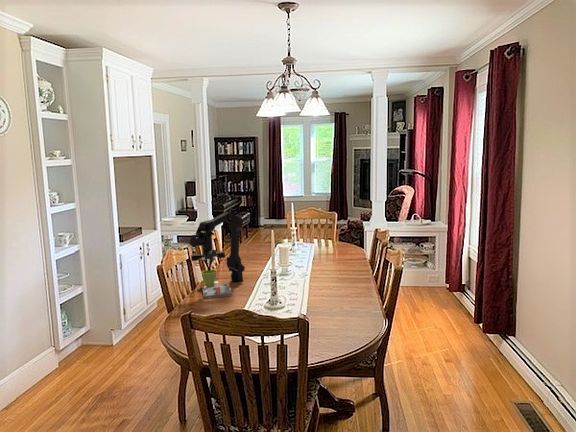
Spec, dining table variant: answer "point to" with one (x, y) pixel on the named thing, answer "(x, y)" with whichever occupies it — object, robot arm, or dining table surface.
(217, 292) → the fader red
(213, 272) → the plant pot
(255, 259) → the dining table surface
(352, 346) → the dining table surface
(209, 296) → the mixing board
